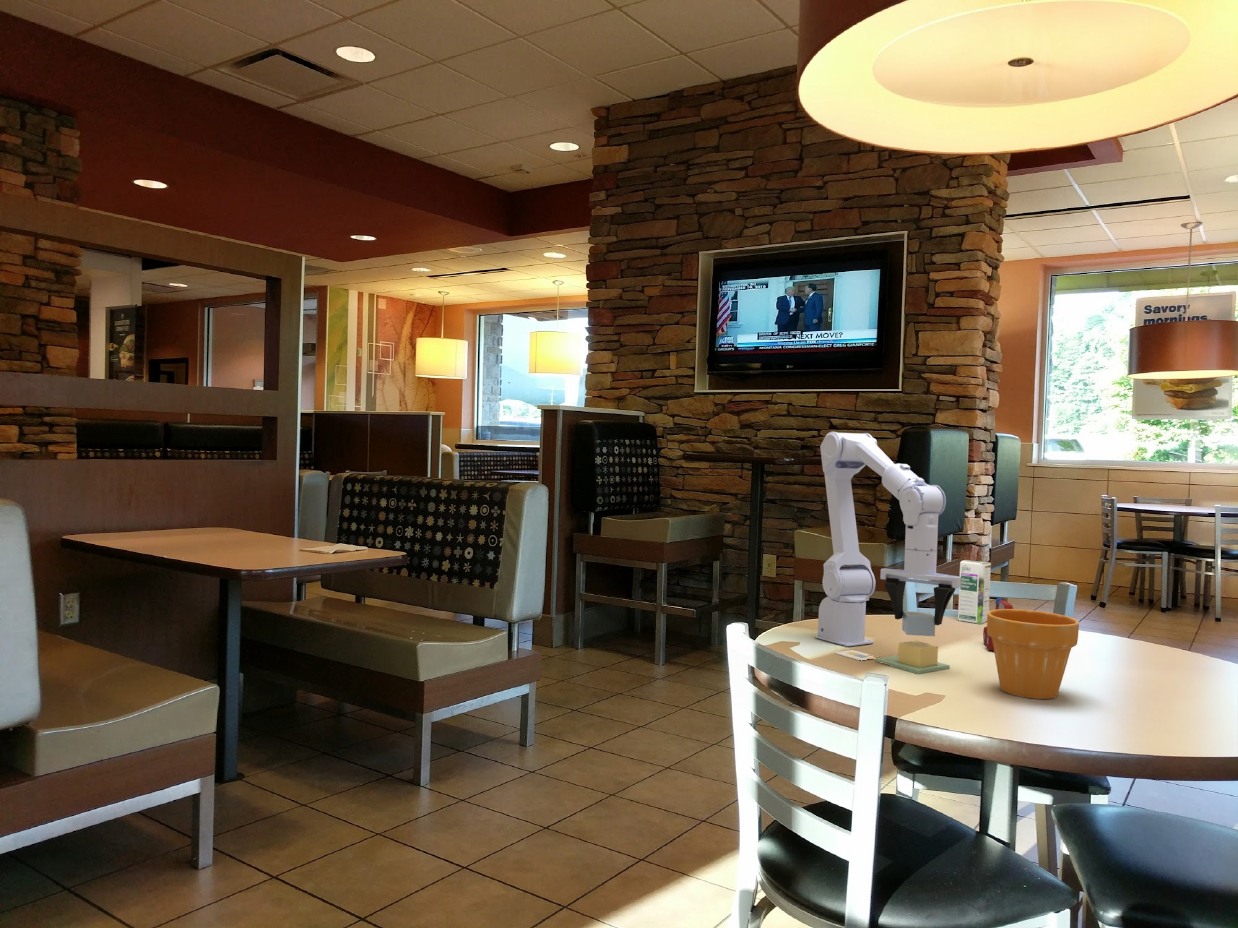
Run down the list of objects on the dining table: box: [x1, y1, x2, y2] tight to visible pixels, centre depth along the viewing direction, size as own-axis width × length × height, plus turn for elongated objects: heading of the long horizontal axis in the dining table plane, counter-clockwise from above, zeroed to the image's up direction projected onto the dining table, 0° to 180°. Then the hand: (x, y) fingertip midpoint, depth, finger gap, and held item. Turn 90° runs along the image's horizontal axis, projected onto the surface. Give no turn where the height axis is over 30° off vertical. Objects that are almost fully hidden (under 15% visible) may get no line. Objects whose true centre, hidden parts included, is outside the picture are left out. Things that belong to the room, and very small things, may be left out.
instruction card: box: [834, 649, 874, 662], centre depth 175 cm, size 7×5×1 cm
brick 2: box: [897, 640, 939, 667], centre depth 168 cm, size 5×5×4 cm
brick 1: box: [901, 610, 936, 637], centre depth 168 cm, size 5×5×4 cm
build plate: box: [874, 655, 951, 675], centre depth 169 cm, size 10×9×1 cm
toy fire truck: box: [982, 596, 1014, 652], centre depth 186 cm, size 7×12×10 cm, turn 165°
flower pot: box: [986, 608, 1080, 700], centre depth 152 cm, size 14×14×13 cm
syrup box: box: [957, 559, 992, 625], centre depth 216 cm, size 6×6×14 cm
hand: (918, 621), depth 168 cm, fingers closed on brick 1, 7 cm apart
